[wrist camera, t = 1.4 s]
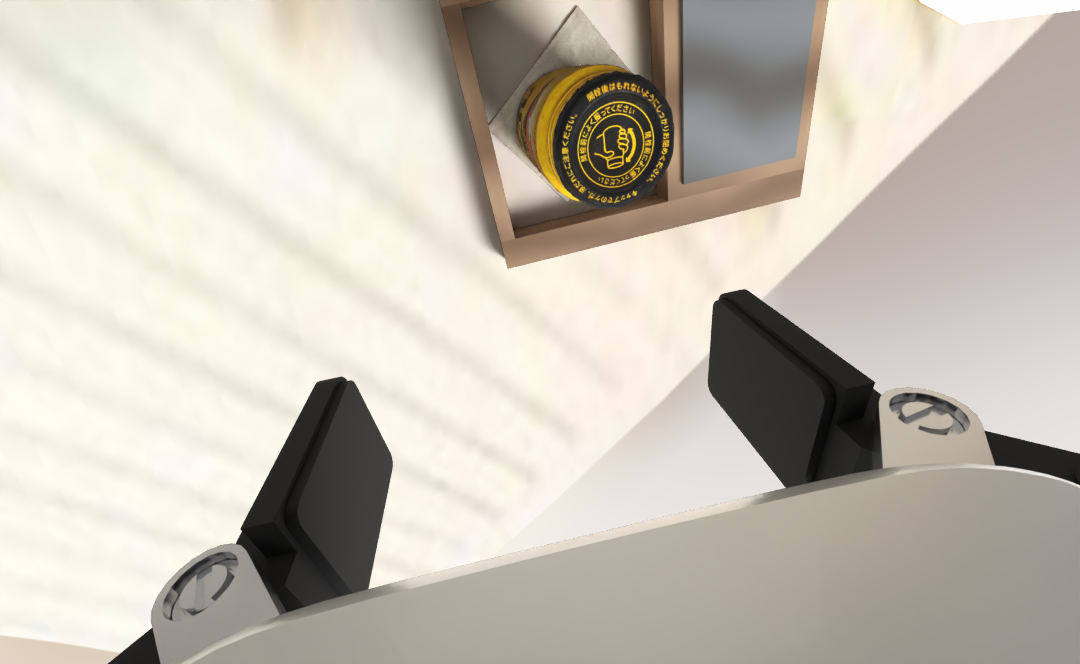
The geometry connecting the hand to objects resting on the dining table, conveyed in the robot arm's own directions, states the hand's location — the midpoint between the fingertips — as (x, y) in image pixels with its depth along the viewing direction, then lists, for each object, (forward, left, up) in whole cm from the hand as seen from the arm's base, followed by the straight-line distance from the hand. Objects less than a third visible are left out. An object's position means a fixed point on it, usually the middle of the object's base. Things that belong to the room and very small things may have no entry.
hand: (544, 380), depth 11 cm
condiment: (-4, +6, -21) cm, 23 cm away
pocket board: (-4, +11, -21) cm, 24 cm away
